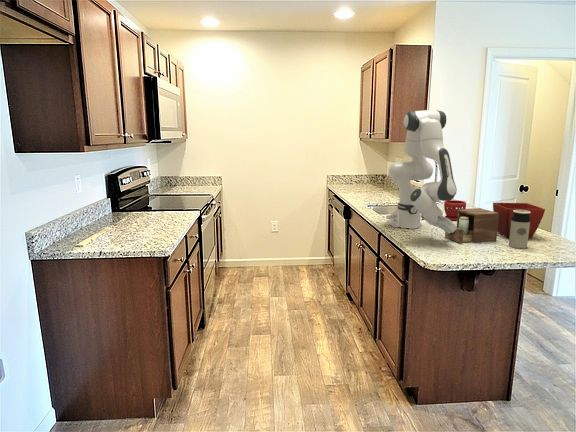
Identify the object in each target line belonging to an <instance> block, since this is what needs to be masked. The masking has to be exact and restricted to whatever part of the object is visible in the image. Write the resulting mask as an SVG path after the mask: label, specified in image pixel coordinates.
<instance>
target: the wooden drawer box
mask: <svg viewBox="0 0 576 432" xmlns="http://www.w3.org/2000/svg"><path fill="white" fill-rule="evenodd" d="M462 216H465V217H469V229H468V230H471V231H473V237H472V241H471V243H472V244H479V243H480V244H481V243H491V242H497V237H498V232H497V230H498V220H499V213H497V212H493V210H489V209H486V208H482V207H478V208H477V207H476V208H466V209H460V208H459V210H458V216H457V221H456V227H457V228H459V219H460V217H462Z"/></svg>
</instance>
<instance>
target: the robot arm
mask: <svg viewBox="0 0 576 432" xmlns="http://www.w3.org/2000/svg"><path fill="white" fill-rule="evenodd" d="M446 124H447V115H446V113H445V112H444V111H442V110H438V109H437V110H431V109H425V110H411V111H407V112H406V114H405V115H404V118H403V126H404V129H405V130H407V131H406V132H407V133H406V136H405V142H404V149H403V150H404V153H405V154H406V155H407V156H408V157H410V158H411V159H412V160H411V161H397V162H393V163H392V164H391V165H390V166H389V168H388V175H389V177H390V179H392V180H393V181H394V182H395V183H396V185H397V187H398V190H399V202H398V203H397V207H396V209H395V210H394V211H393V212H391V214H390V219H388V220H386V223H387V222H388V224H389V225H390V226H391V225H392V228H398V227H401V228H400V229H406V228H409V229H410V230H411V229H412V230H413V229H419V228H421V227H422V225H423V224H422V223H421V218H422V219H423V220H424V221H426V223H428V224H429V225H431V226H433V227H436V228H438V229H441V230H442V231H443V232H444V233H445V232H446V233H449V234H450V233H453V232H454V231H455V230H456V229H457V224H455V223H454V222H453V221H451V220H449V219H448V218H445V216H443V215H444V212H443V210H442V209H441V208H440V207H439V206H438V205H437V204H436V203H437V202H438V201H442V202H443V201H444V202H445V201H450V200H453V199H454V197H455V196H456V195H457V185H456V183H455V180H454V174H453V167H452V162H451V157H450V154H449V151H448V149H446V148H445V146H444V145H445V144H444V136H443V129H444V128H445V126H446ZM428 159H431V160H434V161H435V162H437V165H438V171H439V176H440V180H439V181H429V182H425V183H424V184H423V185H422V186H421V187H420V188H417V187H415V186H414V185H412V183H411V181H424V180H428V179H430V178H431V177H432V176H433V173H434V168H433V165H432V164H431V163H430V162H429V161H428ZM409 229H408V230H409Z"/></svg>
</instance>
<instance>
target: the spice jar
mask: <svg viewBox="0 0 576 432" xmlns="http://www.w3.org/2000/svg"><path fill="white" fill-rule="evenodd" d="M459 228H460V229H463V230H464V231H463V236H466V235H468V229H469V217H465V216H462V217H460V219H459Z"/></svg>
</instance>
